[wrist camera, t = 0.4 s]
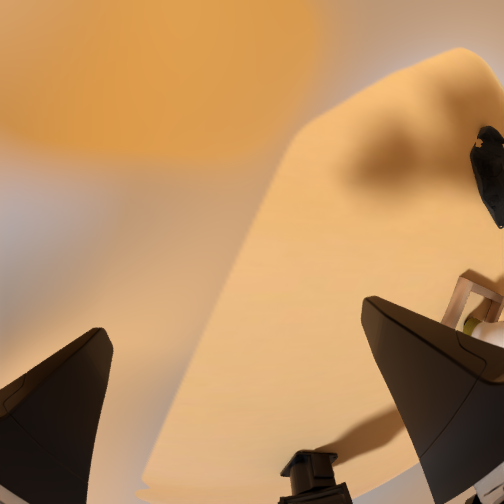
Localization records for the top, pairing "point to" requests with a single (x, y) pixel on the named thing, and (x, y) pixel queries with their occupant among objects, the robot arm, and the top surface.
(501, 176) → the black irregular lumpy piece
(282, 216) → the top surface
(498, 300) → the holder frame
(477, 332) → the light bulb
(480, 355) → the robot arm
